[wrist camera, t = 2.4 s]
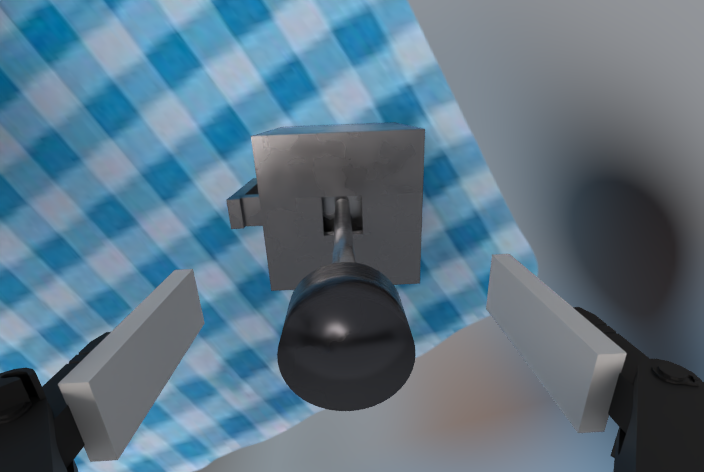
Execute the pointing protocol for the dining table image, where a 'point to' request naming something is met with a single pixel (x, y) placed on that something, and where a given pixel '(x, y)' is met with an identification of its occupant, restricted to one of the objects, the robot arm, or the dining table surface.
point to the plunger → (345, 326)
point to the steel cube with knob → (334, 181)
